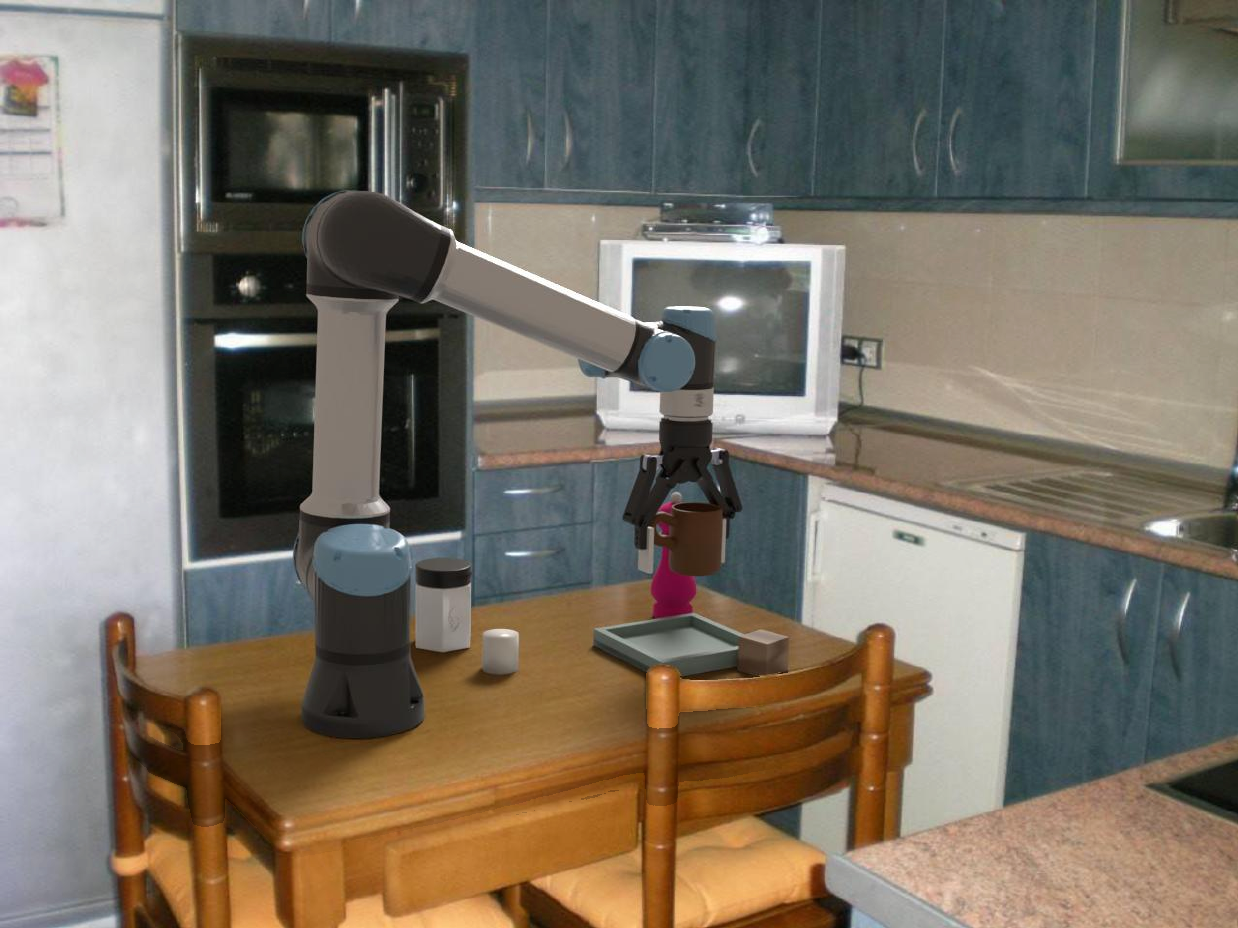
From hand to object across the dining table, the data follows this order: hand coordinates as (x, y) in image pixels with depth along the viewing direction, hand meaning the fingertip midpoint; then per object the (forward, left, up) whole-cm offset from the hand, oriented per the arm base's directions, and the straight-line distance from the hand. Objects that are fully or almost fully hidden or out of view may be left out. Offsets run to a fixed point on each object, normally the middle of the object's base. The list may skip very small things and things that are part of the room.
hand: (681, 566), depth 207 cm
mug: (0, 0, -1) cm, 1 cm away
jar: (-28, +20, -13) cm, 37 cm away
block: (+6, -12, -13) cm, 19 cm away
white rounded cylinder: (-26, +6, -13) cm, 30 cm away
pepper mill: (+10, +16, -13) cm, 23 cm away
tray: (0, 0, -13) cm, 13 cm away
